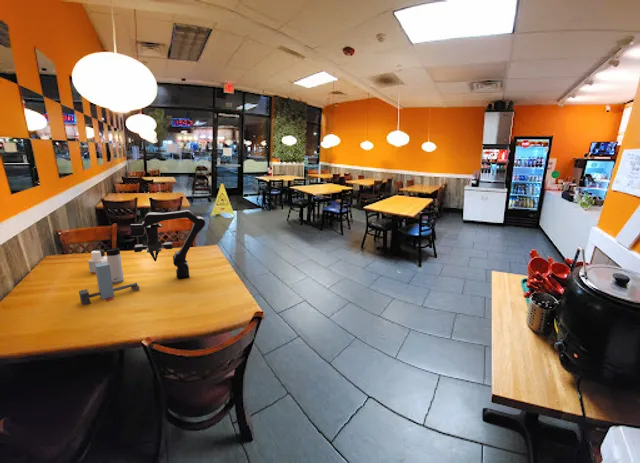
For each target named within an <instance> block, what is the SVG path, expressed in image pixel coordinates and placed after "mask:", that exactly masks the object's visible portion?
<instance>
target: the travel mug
mask: <svg viewBox="0 0 640 463" xmlns="http://www.w3.org/2000/svg"><path fill="white" fill-rule="evenodd" d="M120 251H121V250H120V248H119V247H113V248H109V249H107V250H105V254H106V257H107V261H108V264H109V265H110V271H111V278H112V285H115V284H120V283H121V284H122V283H123V282H124V281H125V279H124V274H123V273H124V271H123V270H124V269H123V264H122V256H121V252H120Z"/></svg>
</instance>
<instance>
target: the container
mask: <svg viewBox="0 0 640 463" xmlns="http://www.w3.org/2000/svg"><path fill="white" fill-rule="evenodd" d="M90 255H91V259H88V260H87V261H88V262H87V263H88V267H89V268H88V269H89V273H96V270H95V264H98V263H103V262H107V263H108V261H107V256H106V251H105V250H104V249H101V248H100V249H99V248H98V249H94V250H92V251H91V252H90Z"/></svg>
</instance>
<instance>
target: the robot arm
mask: <svg viewBox="0 0 640 463" xmlns="http://www.w3.org/2000/svg"><path fill="white" fill-rule="evenodd" d="M185 218H186V219H188V220H189V221H191V222H192V225H191V226H192V227H191V230H190V231H189V233H188V235H187V236H186V239H185V240H184V242H183V245H182V246H181V248H180V249H179V251H177V250H175V252H174V254H173V255H172V261H173V262H172V263H173V266H174V267H175V268H176V269H175V272H176V278H177V280H181V279H189V278H190V269H189V267H190V266H189V263H188V260H186V258H187V254H188V253H189V250H190V249H191V247H192V245H193V243H194V241H195V239H196V238H197V235H198V233H200V232H201V231H202V230H203V228H204V227H205V225H206V220H205V219H204V217H202V216H198V215H197V214H195V213H193V211H190V210H188V209H185V210H178V211H169V212H153V211H151V212H150V211H149V212H147V213H146V214H145V216H144V220H143V221H142V223H137V224H136V223H131V224H130V227H129V229H130V231H129V232H130V233H129V234H130V237H132V238H133V237H143V236H144V235H146V240H147V243H146V245H143V243H142V244H141V243H140V244H135V245H134V247H133V251H134V253H141V252H143V250H145V251H146V253H148V254H150V255H151V257H152V259H153V262H157V259H158V255H159V253H160V252H162V249H163V248H164V249H165V250H172V249H173V242H171V241H166V242H162V241H160V238H159V228H162V225H161V223H162V222H164V221H169V220H170V221H171V220H178V219H185ZM160 222H161V223H160Z"/></svg>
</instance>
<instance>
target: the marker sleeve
mask: <svg viewBox="0 0 640 463" xmlns="http://www.w3.org/2000/svg"><path fill="white" fill-rule="evenodd" d="M95 270H96V272H95V274H96V275H95V276H96V282H97V287H98V292H101V295H99V297H100V299H101V300H105V299H106V298H110V297H113V298H114V297H115V291H114V292H113V288H114V287H113V286H114V284H113V283H112V278H111V271H110V265H109V264H108V263H107V262H103V263H98V264H95Z"/></svg>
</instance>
